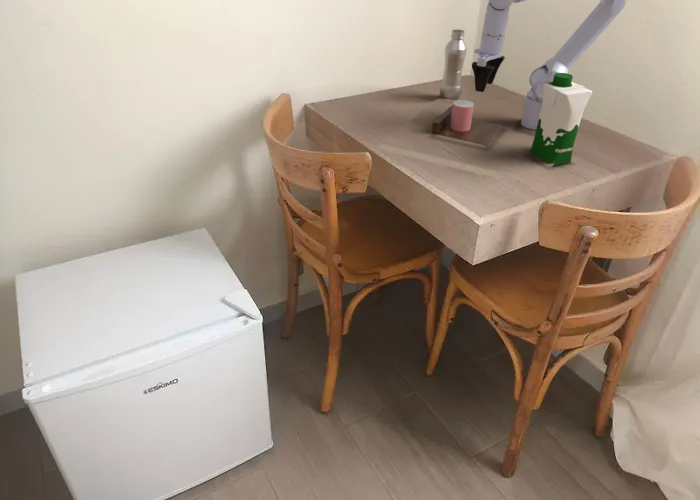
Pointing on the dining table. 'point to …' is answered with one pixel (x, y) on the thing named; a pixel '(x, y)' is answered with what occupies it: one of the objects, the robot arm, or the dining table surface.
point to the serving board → (476, 134)
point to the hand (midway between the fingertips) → (483, 87)
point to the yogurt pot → (461, 115)
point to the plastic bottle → (453, 66)
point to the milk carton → (559, 119)
